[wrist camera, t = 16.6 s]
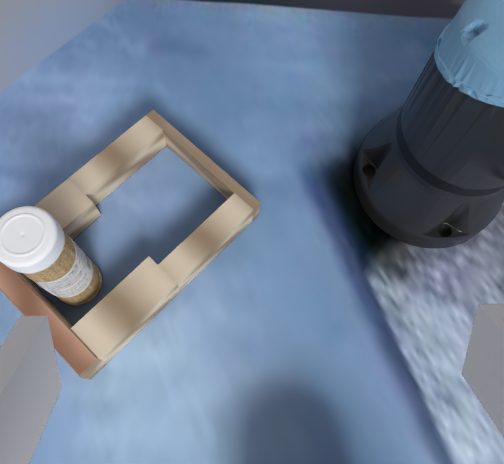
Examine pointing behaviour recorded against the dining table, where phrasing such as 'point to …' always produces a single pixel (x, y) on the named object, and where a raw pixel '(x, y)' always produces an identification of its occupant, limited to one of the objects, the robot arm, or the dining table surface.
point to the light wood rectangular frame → (148, 272)
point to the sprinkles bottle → (47, 255)
